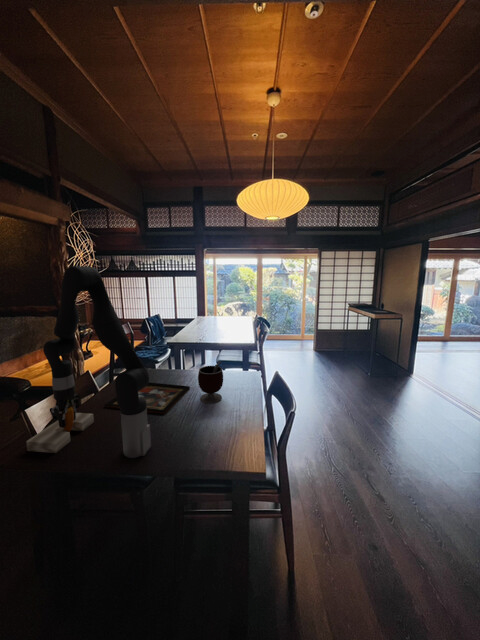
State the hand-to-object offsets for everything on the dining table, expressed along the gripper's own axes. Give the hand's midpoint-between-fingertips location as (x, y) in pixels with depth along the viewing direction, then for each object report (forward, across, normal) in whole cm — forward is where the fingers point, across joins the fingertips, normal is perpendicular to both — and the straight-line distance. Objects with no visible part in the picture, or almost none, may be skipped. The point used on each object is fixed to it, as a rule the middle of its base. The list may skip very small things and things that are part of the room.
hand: (68, 423), depth 108 cm
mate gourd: (+6, +41, -53) cm, 68 cm away
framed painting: (+6, +38, -18) cm, 43 cm away
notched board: (+6, 0, +3) cm, 6 cm away
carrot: (+4, 0, 0) cm, 4 cm away
